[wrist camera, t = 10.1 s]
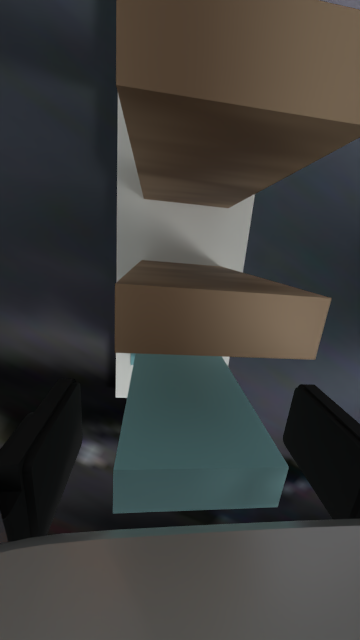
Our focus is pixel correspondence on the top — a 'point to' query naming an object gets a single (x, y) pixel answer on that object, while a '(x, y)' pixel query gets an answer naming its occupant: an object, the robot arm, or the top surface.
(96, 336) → the top surface
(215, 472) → the teal domino
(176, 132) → the walnut domino
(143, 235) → the board
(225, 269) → the walnut domino
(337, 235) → the top surface
